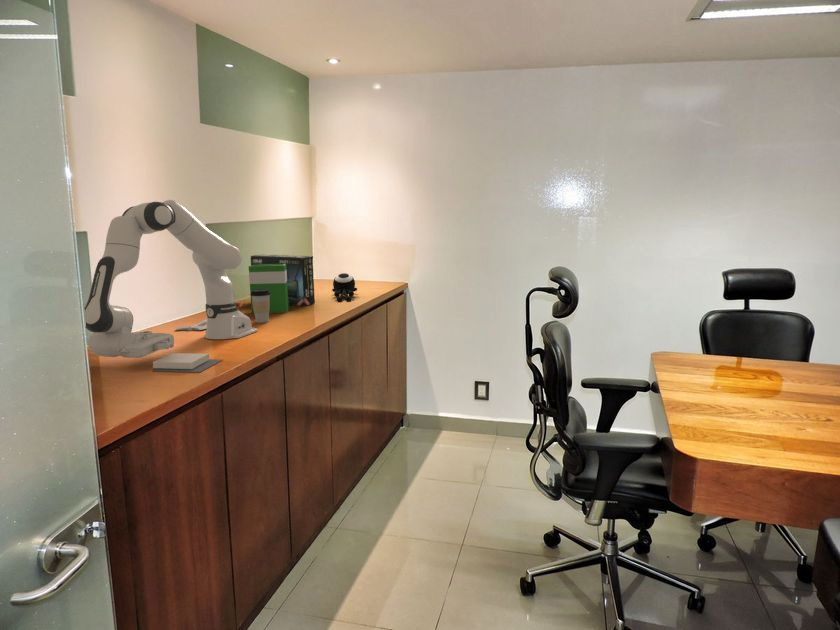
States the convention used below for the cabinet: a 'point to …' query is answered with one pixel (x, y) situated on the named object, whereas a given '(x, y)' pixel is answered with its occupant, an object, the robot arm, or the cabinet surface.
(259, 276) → the green cereal box
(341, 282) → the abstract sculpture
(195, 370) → the rubber mat
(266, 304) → the coffee cup
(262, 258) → the router box
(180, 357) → the ceramic tile
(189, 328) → the driftwood branch
